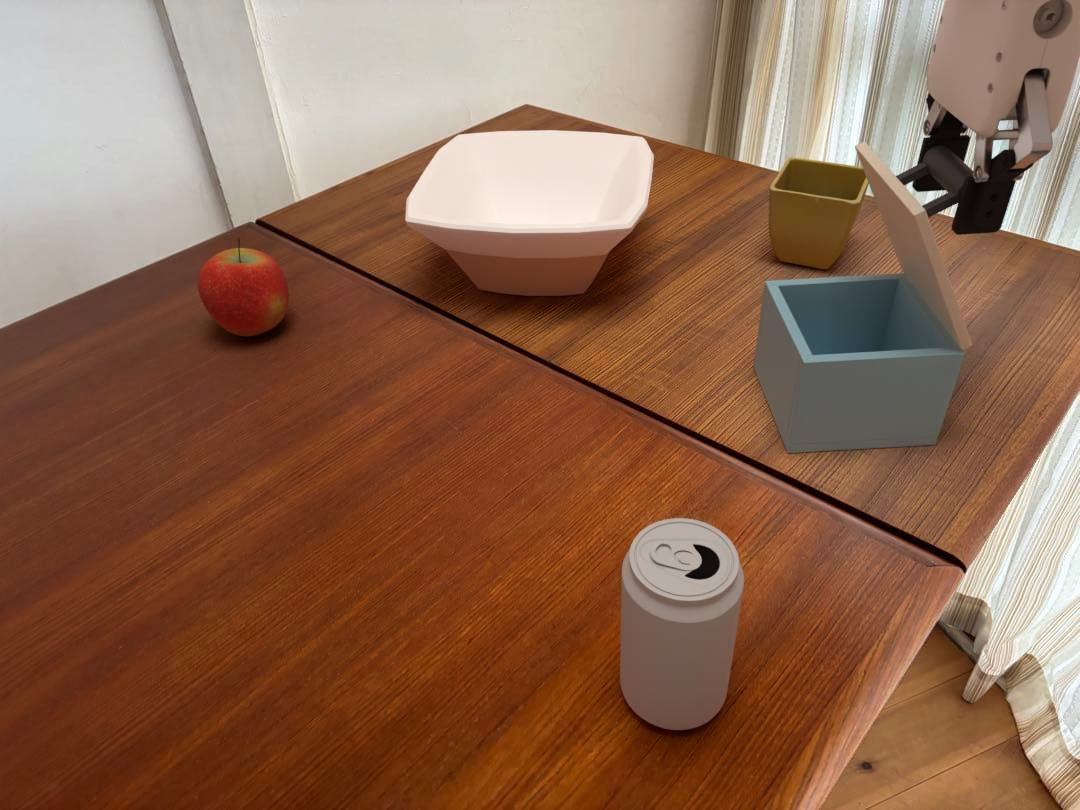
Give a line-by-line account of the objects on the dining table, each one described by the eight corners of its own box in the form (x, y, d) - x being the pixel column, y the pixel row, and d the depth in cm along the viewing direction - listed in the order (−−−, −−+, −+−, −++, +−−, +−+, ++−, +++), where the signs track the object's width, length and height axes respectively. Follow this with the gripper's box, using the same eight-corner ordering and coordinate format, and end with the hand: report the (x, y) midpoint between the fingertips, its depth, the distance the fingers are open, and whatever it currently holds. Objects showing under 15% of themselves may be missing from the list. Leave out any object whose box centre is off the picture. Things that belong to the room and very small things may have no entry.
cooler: (787, 453, 67) (804, 362, 62) (752, 366, 76) (764, 280, 71) (935, 445, 67) (965, 353, 62) (883, 359, 76) (905, 272, 71)
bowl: (402, 322, 85) (386, 225, 78) (459, 213, 104) (449, 127, 97) (640, 334, 81) (644, 234, 75) (654, 218, 100) (657, 130, 94)
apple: (212, 318, 87) (182, 230, 81) (292, 301, 89) (268, 213, 83) (217, 360, 81) (185, 268, 75) (302, 341, 83) (277, 250, 77)
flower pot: (858, 245, 93) (874, 167, 87) (842, 283, 87) (859, 201, 81) (777, 232, 96) (788, 155, 91) (757, 267, 90) (768, 188, 84)
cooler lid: (913, 215, 55) (998, 173, 53) (854, 145, 64) (924, 107, 62) (961, 350, 61) (1038, 316, 60) (901, 270, 71) (966, 238, 69)
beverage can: (716, 750, 48) (737, 618, 41) (607, 719, 50) (608, 588, 42) (733, 658, 53) (755, 525, 45) (633, 633, 54) (638, 501, 47)
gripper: (1190, -48, 43) (1069, 265, 54) (1023, -100, 56) (953, 159, 68) (1044, -39, 43) (952, 272, 54) (911, -94, 56) (860, 165, 68)
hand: (953, 207), depth 61 cm, fingers closed on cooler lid, 6 cm apart
